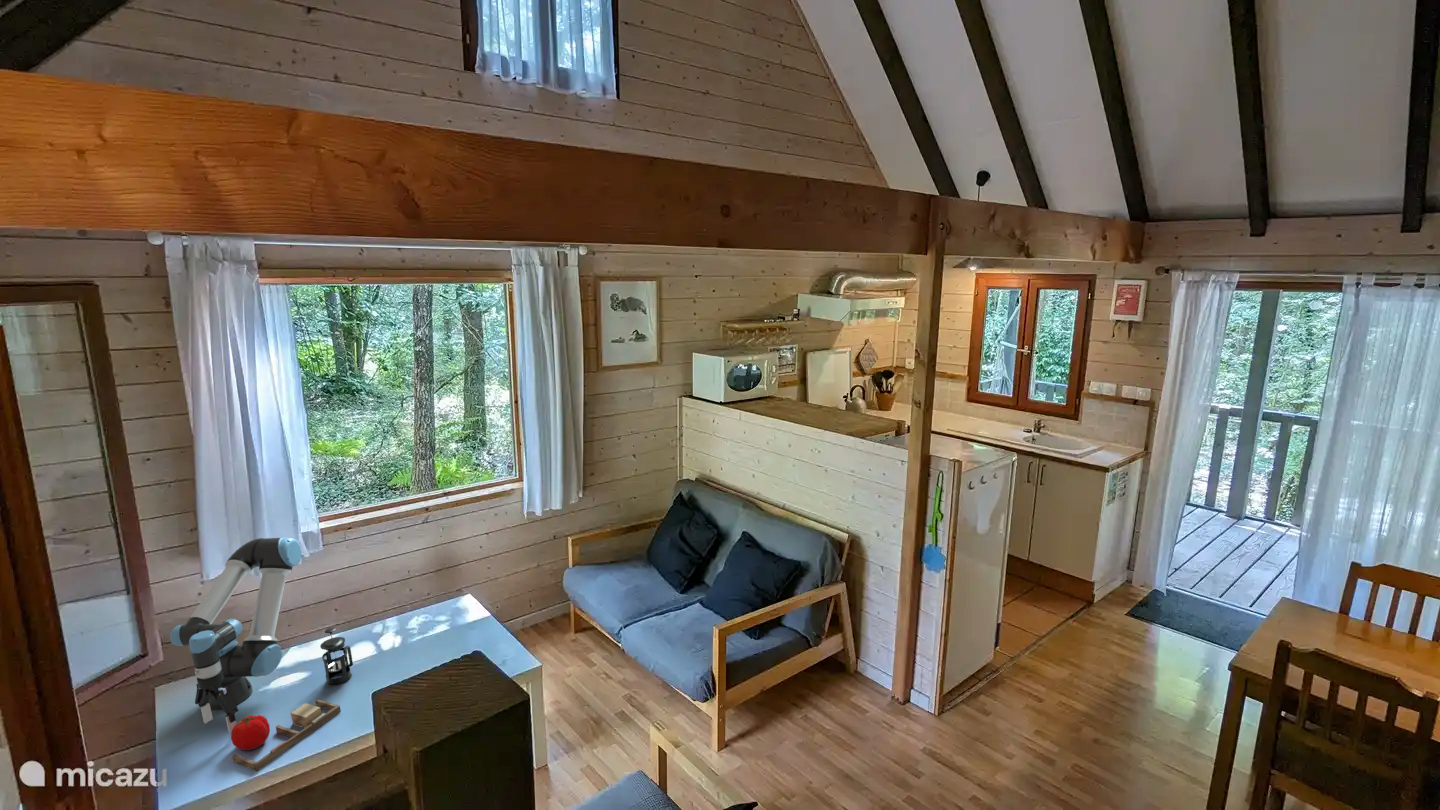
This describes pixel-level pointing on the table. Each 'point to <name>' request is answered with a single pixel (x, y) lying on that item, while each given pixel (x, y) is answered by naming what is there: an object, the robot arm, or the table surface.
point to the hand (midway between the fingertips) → (220, 725)
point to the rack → (290, 733)
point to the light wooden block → (305, 715)
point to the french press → (336, 660)
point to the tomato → (250, 732)
